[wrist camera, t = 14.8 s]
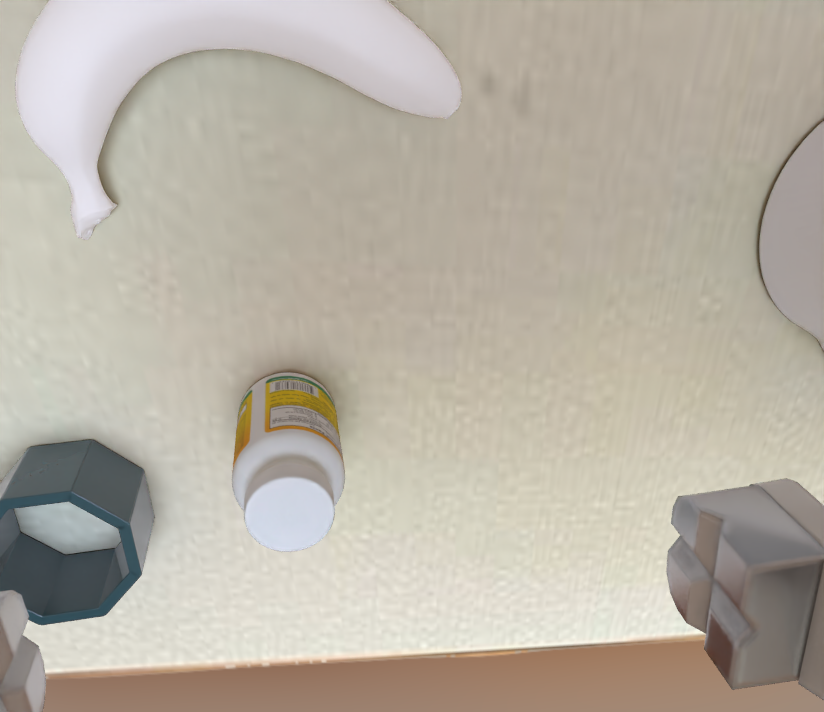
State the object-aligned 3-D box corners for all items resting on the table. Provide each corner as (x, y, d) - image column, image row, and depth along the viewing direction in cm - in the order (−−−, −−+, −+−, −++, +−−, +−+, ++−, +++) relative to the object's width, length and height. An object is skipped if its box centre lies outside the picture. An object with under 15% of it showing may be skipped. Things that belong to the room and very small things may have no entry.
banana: (480, -2, 36) (409, 292, 42) (46, -117, 33) (29, 223, 38) (504, -4, 32) (421, 326, 37) (4, -138, 28) (-8, 251, 34)
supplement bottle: (301, 352, 42) (310, 441, 33) (353, 424, 44) (373, 525, 36) (217, 402, 42) (203, 504, 34) (272, 471, 45) (273, 583, 36)
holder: (136, 433, 42) (120, 484, 38) (162, 550, 46) (150, 609, 41) (-17, 451, 41) (-52, 506, 37) (21, 569, 45) (-7, 633, 40)
